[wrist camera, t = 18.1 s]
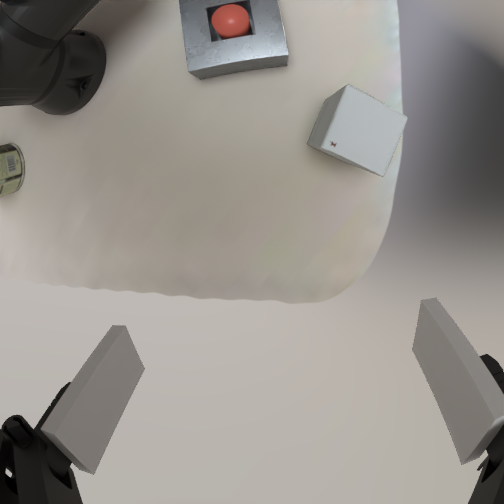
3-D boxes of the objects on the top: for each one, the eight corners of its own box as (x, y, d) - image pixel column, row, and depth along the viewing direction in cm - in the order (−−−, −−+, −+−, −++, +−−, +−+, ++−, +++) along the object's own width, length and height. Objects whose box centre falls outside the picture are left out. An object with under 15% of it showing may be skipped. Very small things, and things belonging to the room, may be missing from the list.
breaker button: (221, 47, 33) (213, 36, 28) (217, 21, 31) (209, 8, 26) (254, 42, 32) (250, 30, 27) (249, 15, 30) (245, 1, 26)
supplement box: (353, 166, 39) (383, 180, 27) (305, 144, 38) (317, 147, 27) (373, 121, 36) (410, 117, 24) (325, 97, 36) (346, 81, 24)
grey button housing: (200, 79, 36) (188, 71, 30) (190, 10, 32) (178, -5, 26) (288, 65, 34) (290, 54, 29) (274, -5, 30) (273, -23, 24)
